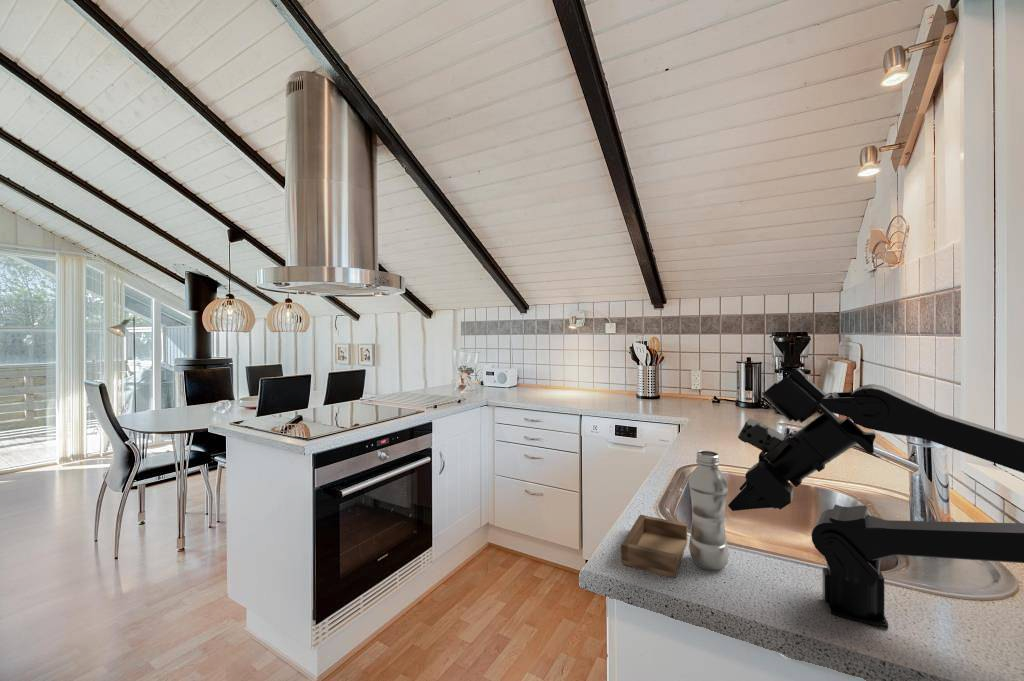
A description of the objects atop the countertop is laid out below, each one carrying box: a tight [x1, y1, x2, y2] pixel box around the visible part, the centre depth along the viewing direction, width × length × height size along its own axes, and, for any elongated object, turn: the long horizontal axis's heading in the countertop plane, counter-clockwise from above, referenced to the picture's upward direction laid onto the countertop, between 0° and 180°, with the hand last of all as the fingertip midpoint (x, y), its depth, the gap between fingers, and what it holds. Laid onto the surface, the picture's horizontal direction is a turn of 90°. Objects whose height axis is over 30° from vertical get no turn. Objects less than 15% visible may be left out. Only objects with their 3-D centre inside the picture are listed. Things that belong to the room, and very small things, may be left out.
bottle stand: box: [620, 514, 688, 579], centre depth 80 cm, size 9×14×4 cm, turn 150°
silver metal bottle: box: [688, 450, 730, 571], centre depth 75 cm, size 6×7×20 cm
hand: (736, 499), depth 72 cm, fingers open, 9 cm apart
